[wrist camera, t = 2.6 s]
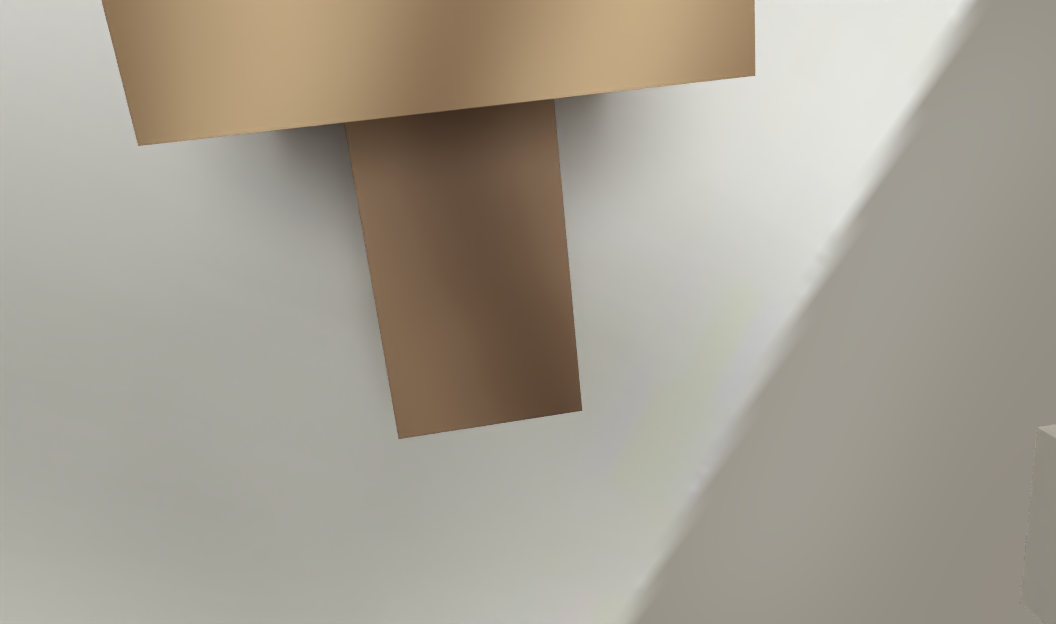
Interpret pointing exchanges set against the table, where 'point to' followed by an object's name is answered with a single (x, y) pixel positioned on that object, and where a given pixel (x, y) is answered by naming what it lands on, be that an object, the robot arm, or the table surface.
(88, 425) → the table surface
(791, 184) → the table surface
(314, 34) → the tunnel
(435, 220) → the walnut block
